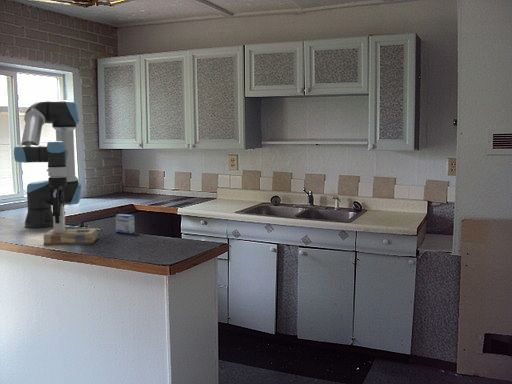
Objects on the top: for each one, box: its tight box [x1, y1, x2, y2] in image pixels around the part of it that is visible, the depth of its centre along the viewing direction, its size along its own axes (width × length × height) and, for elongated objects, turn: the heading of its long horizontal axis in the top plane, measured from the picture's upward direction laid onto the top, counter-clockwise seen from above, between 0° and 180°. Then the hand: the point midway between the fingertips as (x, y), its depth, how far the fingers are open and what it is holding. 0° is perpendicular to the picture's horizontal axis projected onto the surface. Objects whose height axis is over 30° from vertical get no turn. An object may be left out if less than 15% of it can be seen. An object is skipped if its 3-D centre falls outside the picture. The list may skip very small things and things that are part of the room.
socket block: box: [43, 227, 98, 246], centre depth 234 cm, size 14×20×5 cm
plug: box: [52, 204, 66, 233], centre depth 233 cm, size 4×4×13 cm
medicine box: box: [115, 213, 135, 234], centre depth 256 cm, size 8×4×9 cm, turn 70°
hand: (59, 229), depth 233 cm, fingers closed on plug, 4 cm apart
